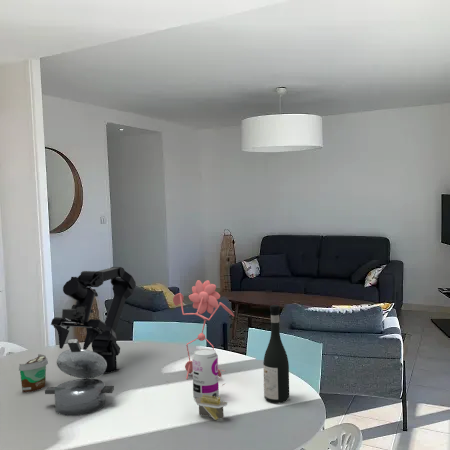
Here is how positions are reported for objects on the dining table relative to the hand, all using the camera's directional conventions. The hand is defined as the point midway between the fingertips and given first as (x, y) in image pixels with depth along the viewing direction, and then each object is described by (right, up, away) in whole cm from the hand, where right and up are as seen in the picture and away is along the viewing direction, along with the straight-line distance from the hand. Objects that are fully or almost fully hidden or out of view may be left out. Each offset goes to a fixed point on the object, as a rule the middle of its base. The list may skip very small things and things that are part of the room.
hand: (72, 349), depth 170 cm
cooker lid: (+6, -1, -11) cm, 13 cm away
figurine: (+45, -13, +13) cm, 49 cm away
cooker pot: (+6, -15, -12) cm, 20 cm away
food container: (-13, -15, +5) cm, 21 cm away
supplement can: (+46, -14, -8) cm, 48 cm away
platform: (+47, -15, -23) cm, 55 cm away
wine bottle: (+68, -13, -11) cm, 70 cm away
